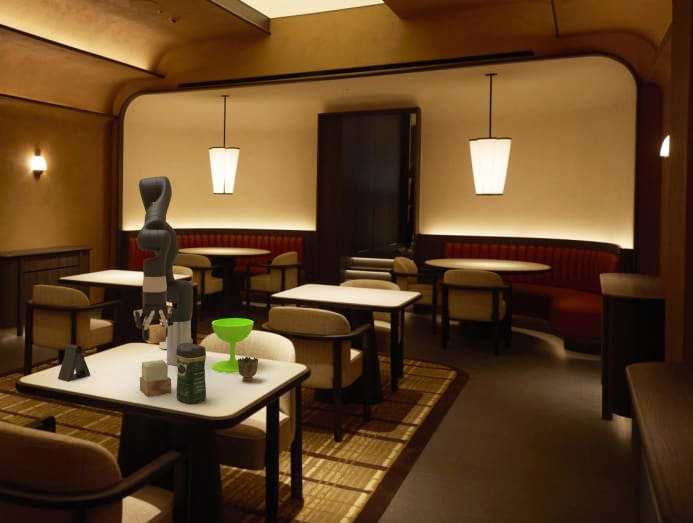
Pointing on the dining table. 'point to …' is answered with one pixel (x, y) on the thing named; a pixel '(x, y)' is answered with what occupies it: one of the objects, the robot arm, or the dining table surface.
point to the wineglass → (231, 339)
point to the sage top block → (154, 370)
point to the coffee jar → (191, 373)
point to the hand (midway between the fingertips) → (155, 339)
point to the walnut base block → (155, 387)
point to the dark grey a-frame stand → (73, 364)
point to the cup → (247, 368)
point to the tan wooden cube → (156, 333)
